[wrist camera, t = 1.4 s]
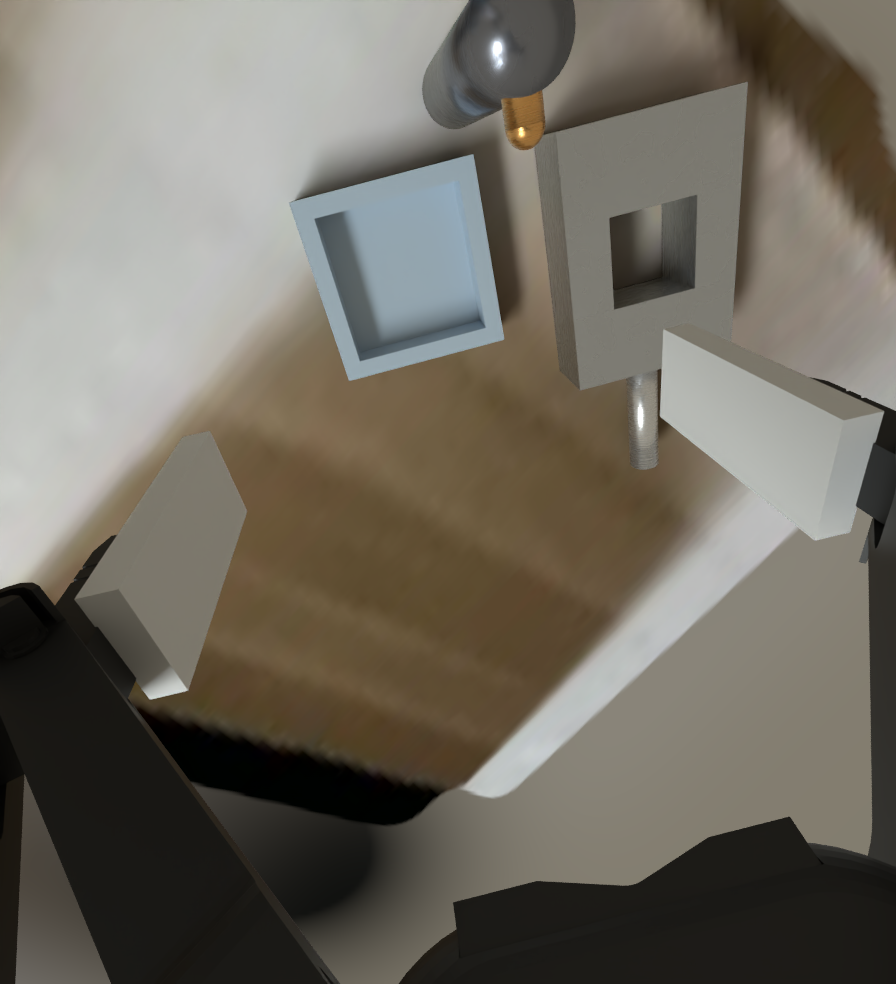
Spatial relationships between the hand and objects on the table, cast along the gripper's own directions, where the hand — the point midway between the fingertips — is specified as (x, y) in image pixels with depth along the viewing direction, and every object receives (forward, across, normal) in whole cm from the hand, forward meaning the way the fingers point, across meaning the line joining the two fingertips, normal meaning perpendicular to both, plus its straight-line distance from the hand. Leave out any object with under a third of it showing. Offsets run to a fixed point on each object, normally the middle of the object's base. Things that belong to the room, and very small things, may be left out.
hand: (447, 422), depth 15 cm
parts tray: (+21, 0, +1) cm, 21 cm away
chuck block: (+21, +15, -4) cm, 26 cm away
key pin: (+21, +5, +9) cm, 23 cm away
